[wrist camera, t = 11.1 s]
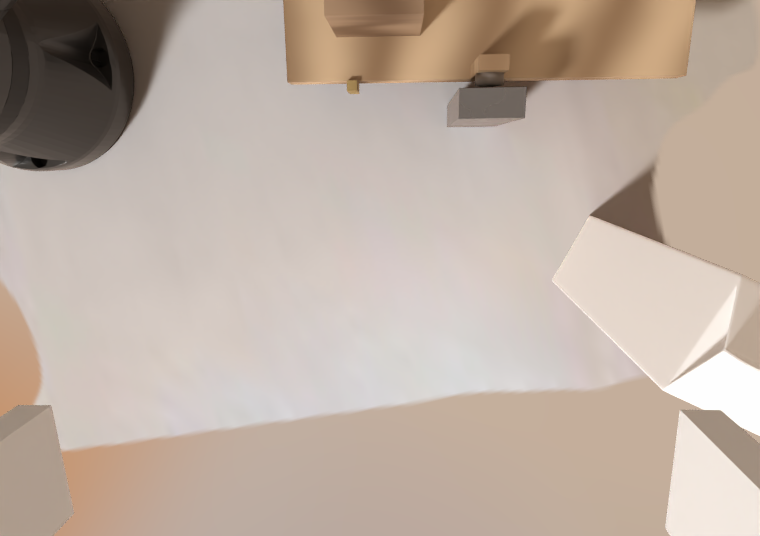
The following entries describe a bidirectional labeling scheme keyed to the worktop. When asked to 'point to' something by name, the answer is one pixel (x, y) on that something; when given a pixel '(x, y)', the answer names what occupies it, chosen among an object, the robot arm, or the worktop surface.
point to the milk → (671, 316)
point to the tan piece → (497, 43)
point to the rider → (374, 17)
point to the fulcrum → (486, 106)
